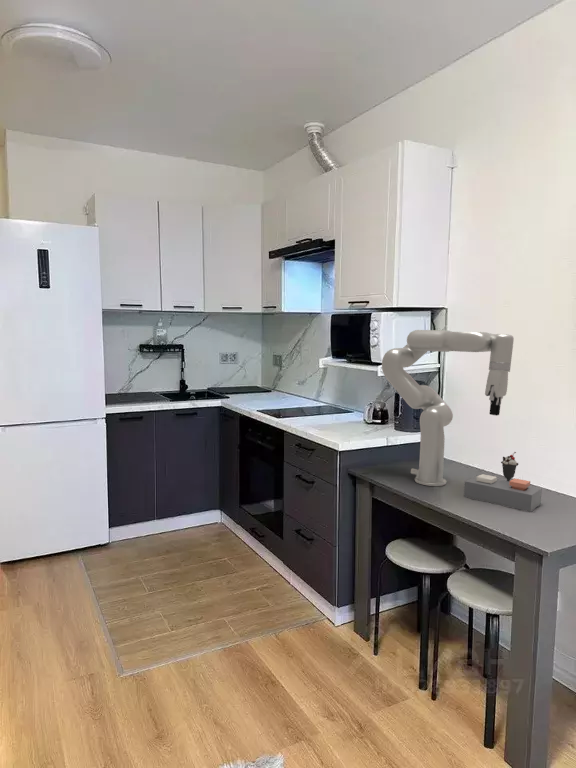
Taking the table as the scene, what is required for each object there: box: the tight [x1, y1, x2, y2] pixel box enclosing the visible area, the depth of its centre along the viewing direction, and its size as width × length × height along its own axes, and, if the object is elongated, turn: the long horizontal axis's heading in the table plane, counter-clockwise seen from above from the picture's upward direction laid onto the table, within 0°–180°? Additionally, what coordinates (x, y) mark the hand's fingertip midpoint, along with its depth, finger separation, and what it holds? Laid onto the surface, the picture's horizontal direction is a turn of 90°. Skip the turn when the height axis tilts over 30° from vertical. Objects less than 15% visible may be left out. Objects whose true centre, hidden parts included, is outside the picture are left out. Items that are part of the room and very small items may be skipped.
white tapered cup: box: [476, 473, 498, 484], centre depth 202 cm, size 6×6×8 cm
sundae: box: [500, 451, 519, 481], centre depth 215 cm, size 7×7×15 cm
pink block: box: [509, 477, 531, 491], centre depth 194 cm, size 6×6×8 cm
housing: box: [463, 474, 543, 513], centre depth 198 cm, size 24×12×6 cm, turn 49°
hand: (494, 414), depth 204 cm, fingers closed
